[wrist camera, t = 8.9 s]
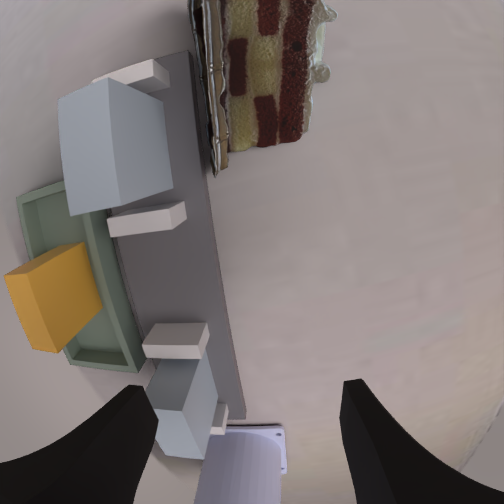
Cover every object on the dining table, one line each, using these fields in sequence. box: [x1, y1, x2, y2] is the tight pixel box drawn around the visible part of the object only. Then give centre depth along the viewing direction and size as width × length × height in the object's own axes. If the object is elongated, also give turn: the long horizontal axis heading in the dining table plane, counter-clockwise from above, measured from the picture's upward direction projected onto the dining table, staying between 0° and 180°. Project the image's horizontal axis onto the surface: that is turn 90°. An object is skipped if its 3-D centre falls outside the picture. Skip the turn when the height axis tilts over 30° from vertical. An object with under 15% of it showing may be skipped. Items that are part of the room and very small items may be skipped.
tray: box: [16, 180, 147, 373], centre depth 18 cm, size 14×7×2 cm, turn 7°
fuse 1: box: [58, 77, 173, 216], centre depth 12 cm, size 5×3×6 cm, turn 7°
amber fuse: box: [4, 242, 103, 353], centre depth 15 cm, size 5×3×6 cm, turn 7°
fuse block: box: [92, 51, 246, 435], centre depth 16 cm, size 26×6×4 cm, turn 7°
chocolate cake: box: [187, 0, 338, 178], centre depth 12 cm, size 10×7×12 cm
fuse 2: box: [145, 349, 218, 460], centre depth 16 cm, size 5×3×6 cm, turn 7°
